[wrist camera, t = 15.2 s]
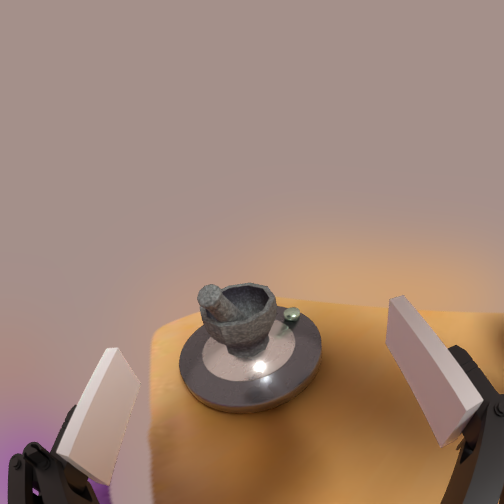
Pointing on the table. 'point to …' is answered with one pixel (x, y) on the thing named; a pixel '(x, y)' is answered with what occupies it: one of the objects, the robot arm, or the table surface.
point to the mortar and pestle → (238, 316)
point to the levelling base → (254, 366)
